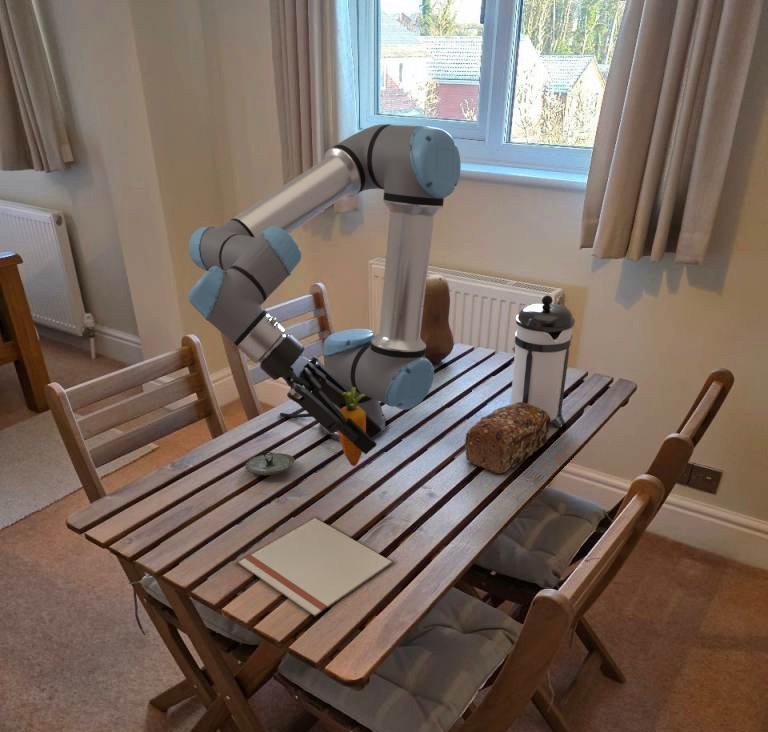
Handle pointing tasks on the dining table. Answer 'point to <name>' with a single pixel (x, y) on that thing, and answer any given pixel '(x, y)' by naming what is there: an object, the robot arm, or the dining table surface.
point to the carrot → (358, 418)
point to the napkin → (315, 565)
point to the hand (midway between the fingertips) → (373, 441)
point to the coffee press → (542, 356)
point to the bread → (507, 436)
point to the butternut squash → (436, 319)
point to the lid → (269, 463)
